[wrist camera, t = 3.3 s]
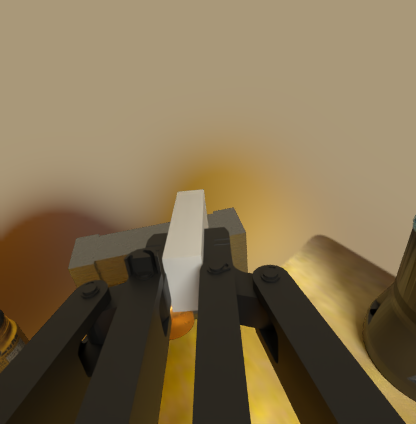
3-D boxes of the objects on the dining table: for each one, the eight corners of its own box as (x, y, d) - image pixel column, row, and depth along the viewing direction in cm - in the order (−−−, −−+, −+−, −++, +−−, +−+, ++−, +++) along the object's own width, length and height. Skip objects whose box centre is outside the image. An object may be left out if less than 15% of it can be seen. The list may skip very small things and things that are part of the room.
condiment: (32, 347, 43) (-11, 291, 37) (71, 375, 39) (30, 317, 33) (-20, 396, 38) (-81, 340, 32) (18, 433, 34) (-42, 379, 28)
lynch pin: (181, 249, 45) (175, 220, 42) (197, 333, 33) (190, 302, 30) (146, 256, 44) (137, 228, 41) (149, 344, 32) (137, 314, 29)
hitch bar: (242, 267, 52) (238, 202, 44) (257, 304, 45) (256, 235, 38) (99, 298, 50) (70, 235, 42) (93, 342, 43) (57, 276, 36)
